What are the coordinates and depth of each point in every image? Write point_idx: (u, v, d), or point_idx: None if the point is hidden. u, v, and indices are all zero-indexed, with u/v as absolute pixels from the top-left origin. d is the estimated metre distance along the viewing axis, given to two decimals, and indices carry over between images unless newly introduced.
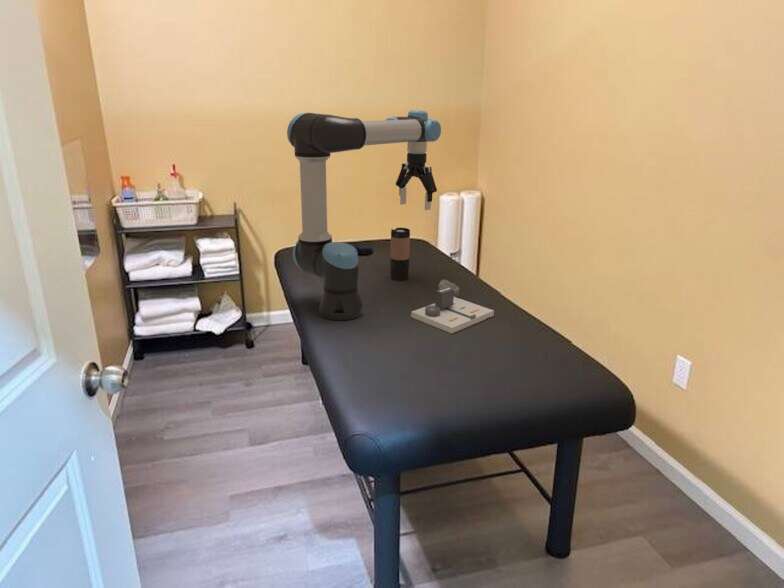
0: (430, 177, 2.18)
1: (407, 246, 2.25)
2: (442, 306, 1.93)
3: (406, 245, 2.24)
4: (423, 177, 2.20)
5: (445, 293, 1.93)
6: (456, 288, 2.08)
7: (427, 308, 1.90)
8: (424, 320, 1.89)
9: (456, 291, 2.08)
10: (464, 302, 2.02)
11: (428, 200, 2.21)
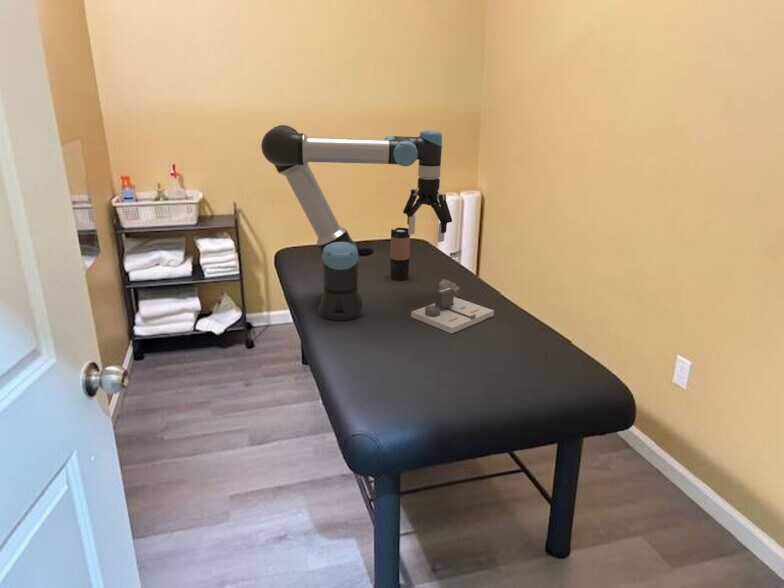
0: (445, 206, 1.94)
1: (407, 246, 2.25)
2: (442, 306, 1.93)
3: (406, 245, 2.24)
4: (436, 205, 1.96)
5: (445, 293, 1.93)
6: (457, 288, 2.09)
7: (427, 308, 1.90)
8: (424, 320, 1.89)
9: (457, 291, 2.08)
10: (464, 302, 2.02)
11: (442, 231, 1.97)
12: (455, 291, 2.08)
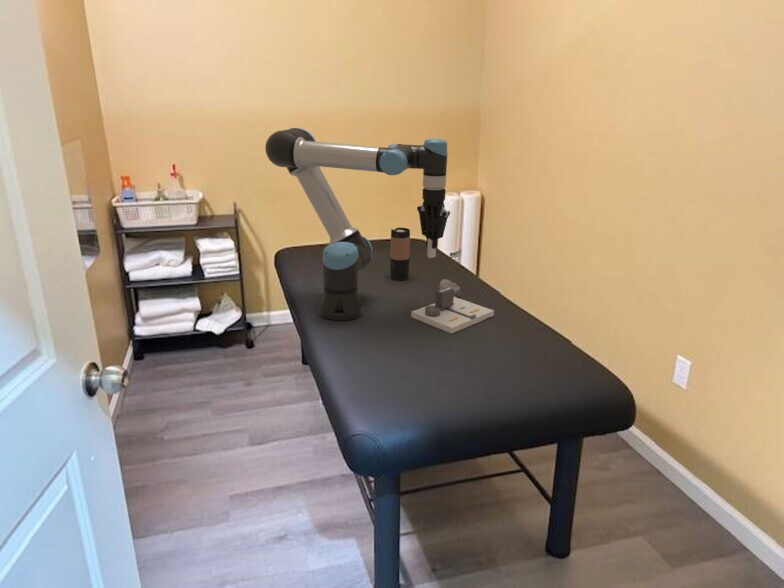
0: (443, 223, 1.88)
1: (407, 246, 2.25)
2: (442, 306, 1.93)
3: (406, 245, 2.24)
4: (436, 219, 1.89)
5: (445, 293, 1.93)
6: (457, 288, 2.09)
7: (427, 308, 1.90)
8: (424, 320, 1.89)
9: (457, 291, 2.08)
10: (464, 302, 2.02)
11: (433, 247, 1.93)
12: (456, 291, 2.08)
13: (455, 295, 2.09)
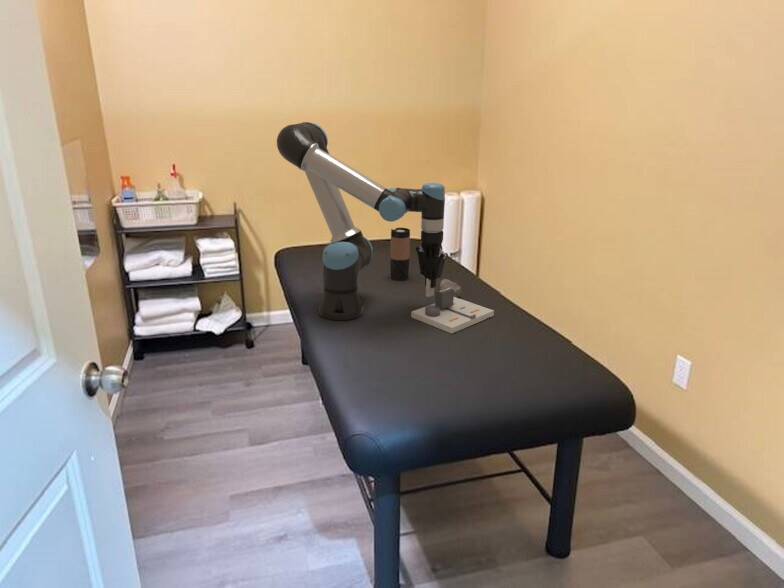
0: (441, 264, 1.93)
1: (407, 246, 2.25)
2: (442, 306, 1.93)
3: (406, 245, 2.24)
4: (434, 260, 1.94)
5: (445, 293, 1.93)
6: (458, 287, 2.09)
7: (427, 308, 1.90)
8: (424, 320, 1.89)
9: (458, 290, 2.09)
10: (464, 302, 2.02)
11: (431, 286, 1.98)
12: (456, 291, 2.09)
13: (455, 295, 2.10)
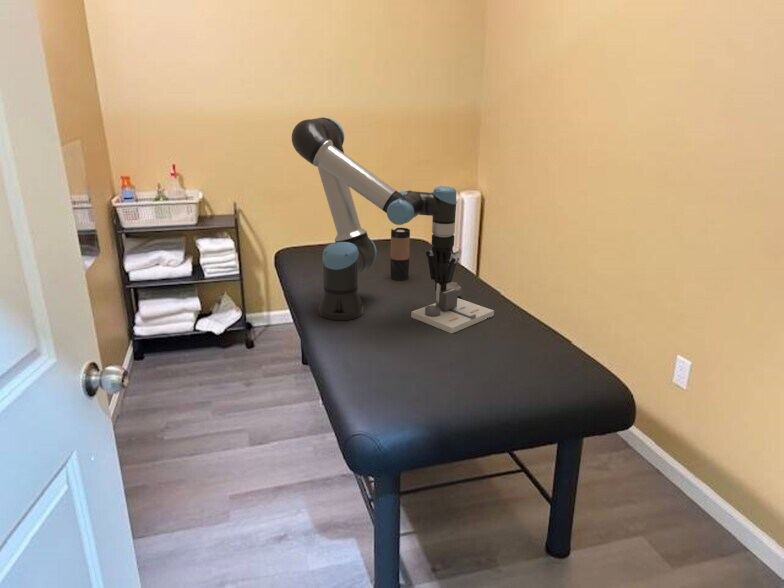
0: (452, 269, 1.90)
1: (407, 246, 2.25)
2: (446, 307, 1.92)
3: (406, 245, 2.24)
4: (445, 265, 1.91)
5: (449, 294, 1.92)
6: (458, 287, 2.09)
7: (427, 308, 1.90)
8: (424, 320, 1.89)
9: (458, 290, 2.09)
10: (464, 302, 2.02)
11: None
12: None
13: None
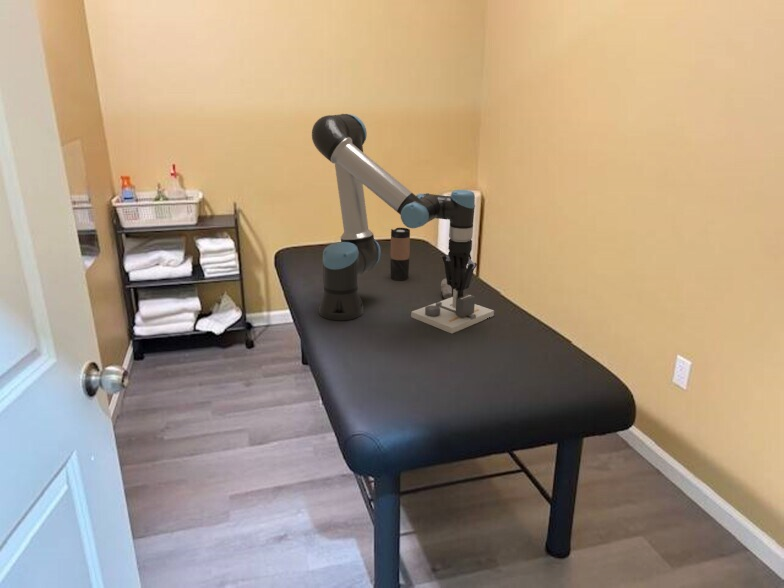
0: (469, 274, 1.85)
1: (407, 246, 2.25)
2: (463, 314, 1.87)
3: (406, 245, 2.24)
4: (462, 270, 1.86)
5: (466, 300, 1.87)
6: None
7: (427, 308, 1.90)
8: (424, 320, 1.89)
9: None
10: None
11: (458, 297, 1.90)
12: None
13: None
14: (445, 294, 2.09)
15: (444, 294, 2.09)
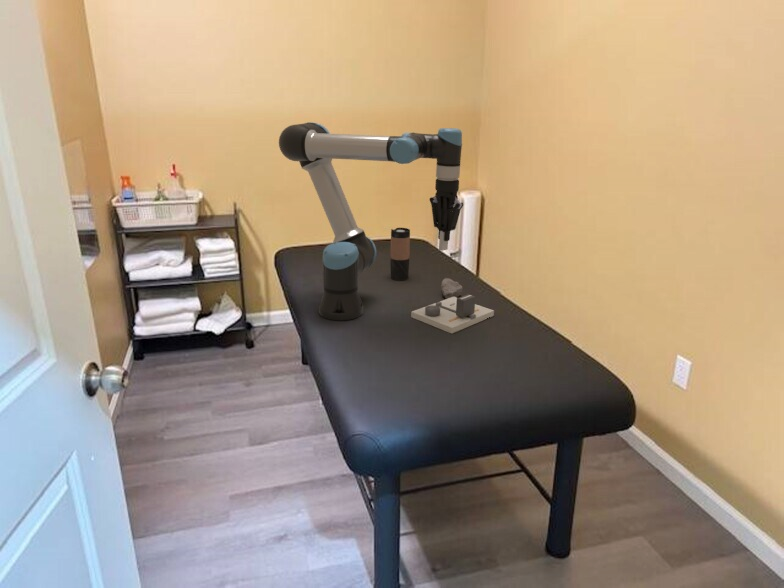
0: (456, 215, 1.83)
1: (407, 246, 2.25)
2: (463, 314, 1.87)
3: (406, 245, 2.24)
4: (449, 211, 1.85)
5: (466, 300, 1.86)
6: (459, 286, 2.10)
7: (427, 308, 1.90)
8: (424, 320, 1.89)
9: (459, 289, 2.10)
10: None
11: (445, 239, 1.88)
12: (458, 290, 2.10)
13: (457, 294, 2.11)
14: (446, 294, 2.09)
15: (445, 294, 2.09)
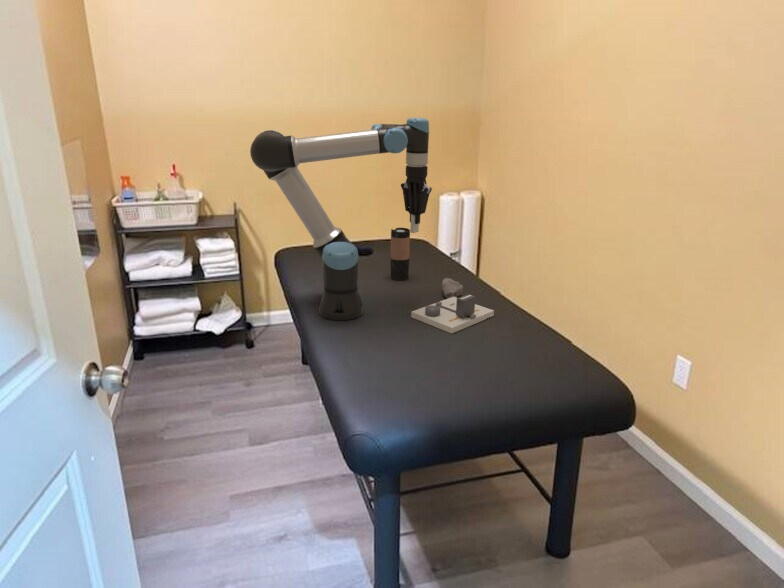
0: (425, 199, 1.96)
1: (407, 246, 2.25)
2: (463, 314, 1.87)
3: (406, 245, 2.24)
4: (418, 196, 1.98)
5: (466, 300, 1.86)
6: (460, 286, 2.11)
7: (427, 308, 1.90)
8: (424, 320, 1.89)
9: (460, 289, 2.10)
10: None
11: (416, 222, 2.02)
12: (459, 289, 2.10)
13: (458, 294, 2.11)
14: (447, 293, 2.09)
15: (446, 293, 2.09)
